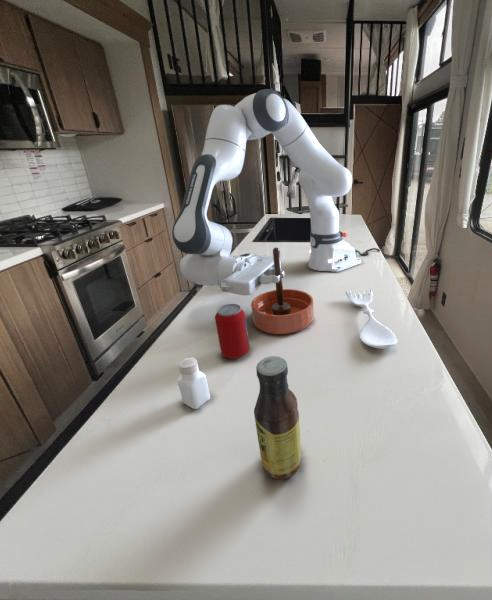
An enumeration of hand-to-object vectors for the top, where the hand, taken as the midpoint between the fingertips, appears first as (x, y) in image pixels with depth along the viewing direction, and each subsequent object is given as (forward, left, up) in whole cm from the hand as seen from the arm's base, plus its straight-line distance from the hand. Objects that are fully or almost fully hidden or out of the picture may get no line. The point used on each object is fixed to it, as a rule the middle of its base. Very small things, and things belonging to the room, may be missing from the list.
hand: (281, 276), depth 87 cm
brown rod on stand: (+1, -1, -11) cm, 11 cm away
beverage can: (+17, +7, -14) cm, 23 cm away
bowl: (0, -1, -14) cm, 14 cm away
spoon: (-19, +14, -14) cm, 28 cm away
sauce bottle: (+21, +41, -14) cm, 48 cm away
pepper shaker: (+29, +19, -14) cm, 38 cm away
